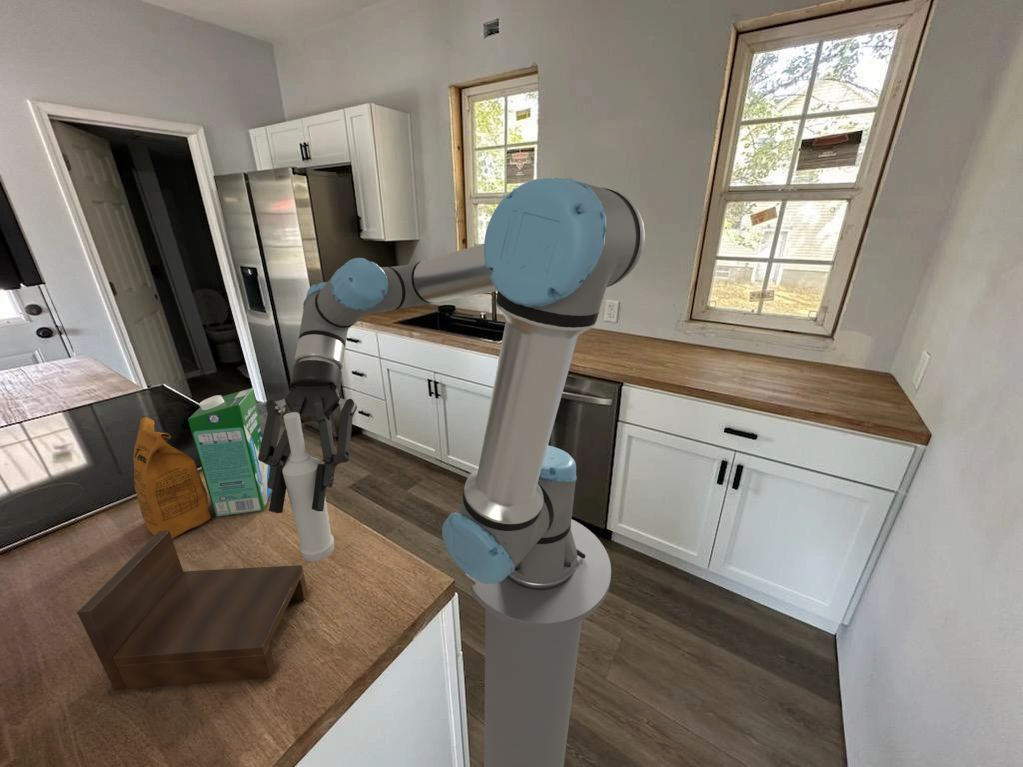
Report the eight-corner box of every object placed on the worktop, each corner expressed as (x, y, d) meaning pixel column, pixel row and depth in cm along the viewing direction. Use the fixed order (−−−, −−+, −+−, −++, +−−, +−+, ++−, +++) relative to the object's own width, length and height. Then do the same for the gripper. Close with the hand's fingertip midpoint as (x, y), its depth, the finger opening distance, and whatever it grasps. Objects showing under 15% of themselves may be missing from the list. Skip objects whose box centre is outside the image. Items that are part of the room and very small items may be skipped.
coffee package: (199, 497, 91) (173, 407, 83) (218, 522, 84) (191, 426, 76) (141, 519, 84) (106, 423, 76) (157, 549, 77) (120, 446, 69)
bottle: (342, 547, 69) (319, 412, 59) (314, 568, 64) (285, 427, 55) (322, 535, 71) (296, 404, 62) (294, 555, 67) (262, 417, 58)
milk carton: (230, 491, 94) (203, 390, 85) (274, 486, 96) (253, 387, 87) (215, 517, 85) (184, 408, 77) (263, 510, 88) (238, 404, 79)
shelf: (307, 592, 69) (294, 525, 64) (270, 678, 56) (250, 601, 51) (182, 599, 67) (158, 530, 62) (114, 690, 54) (76, 612, 49)
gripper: (378, 376, 73) (366, 511, 64) (271, 377, 72) (243, 516, 62) (368, 357, 67) (354, 504, 57) (250, 358, 65) (215, 510, 55)
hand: (296, 510), depth 60 cm, fingers closed on bottle, 5 cm apart
